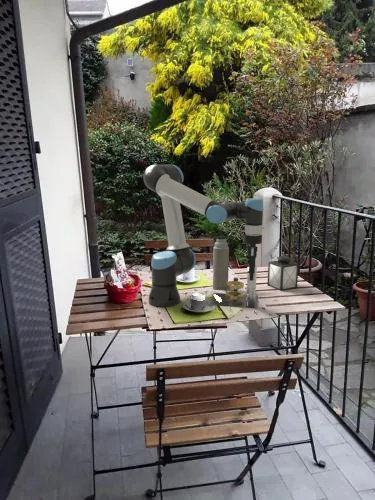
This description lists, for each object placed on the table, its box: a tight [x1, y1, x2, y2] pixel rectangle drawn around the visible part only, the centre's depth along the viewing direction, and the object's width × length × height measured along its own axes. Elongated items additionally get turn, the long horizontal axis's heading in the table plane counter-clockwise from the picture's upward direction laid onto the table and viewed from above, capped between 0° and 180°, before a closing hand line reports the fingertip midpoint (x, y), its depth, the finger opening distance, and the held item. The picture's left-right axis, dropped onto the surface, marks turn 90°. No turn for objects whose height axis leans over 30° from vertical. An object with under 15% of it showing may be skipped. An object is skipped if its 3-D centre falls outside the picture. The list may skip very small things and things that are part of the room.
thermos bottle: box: [212, 235, 230, 292], centre depth 213 cm, size 8×8×28 cm
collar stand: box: [208, 277, 259, 309], centre depth 193 cm, size 22×18×10 cm
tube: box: [246, 266, 258, 307], centre depth 185 cm, size 4×4×18 cm
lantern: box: [267, 235, 299, 292], centre depth 217 cm, size 11×11×28 cm
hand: (251, 285), depth 185 cm, fingers closed on tube, 4 cm apart
